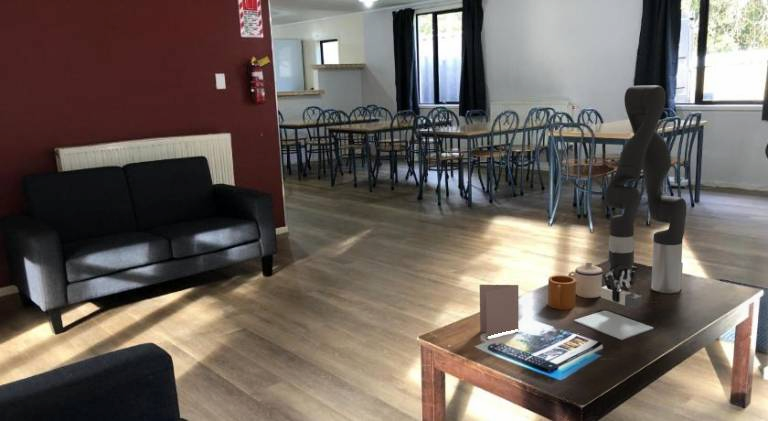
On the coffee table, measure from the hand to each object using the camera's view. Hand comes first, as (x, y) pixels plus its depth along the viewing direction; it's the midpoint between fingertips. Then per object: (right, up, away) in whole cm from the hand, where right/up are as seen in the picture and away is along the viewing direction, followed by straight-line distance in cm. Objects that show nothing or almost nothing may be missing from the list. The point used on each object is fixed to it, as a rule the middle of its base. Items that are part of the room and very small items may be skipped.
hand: (620, 300), depth 203 cm
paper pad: (-6, -6, -9) cm, 13 cm away
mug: (-17, -3, +8) cm, 19 cm away
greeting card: (-41, -9, -14) cm, 44 cm away
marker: (0, -1, 0) cm, 1 cm away
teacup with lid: (-5, -1, +19) cm, 20 cm away
